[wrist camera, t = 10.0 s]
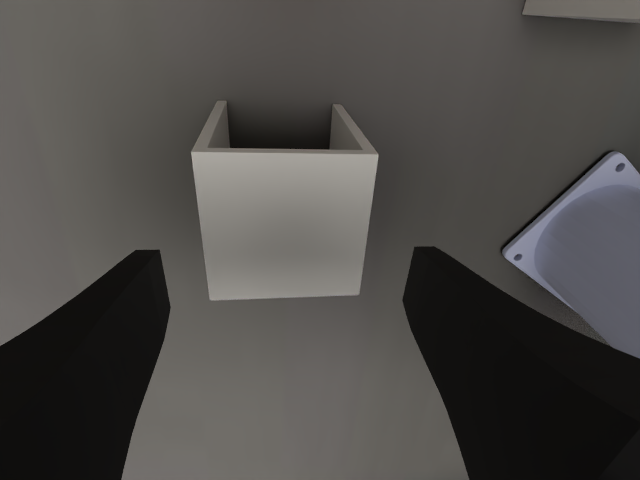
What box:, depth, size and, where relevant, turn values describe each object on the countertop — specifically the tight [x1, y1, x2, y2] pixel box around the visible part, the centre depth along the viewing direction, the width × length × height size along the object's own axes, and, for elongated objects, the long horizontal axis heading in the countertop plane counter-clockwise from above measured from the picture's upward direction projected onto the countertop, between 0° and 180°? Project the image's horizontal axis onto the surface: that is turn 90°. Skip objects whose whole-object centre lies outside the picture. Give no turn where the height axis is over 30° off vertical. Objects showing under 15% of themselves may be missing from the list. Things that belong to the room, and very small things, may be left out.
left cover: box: [191, 100, 379, 300], centre depth 16 cm, size 6×6×7 cm
